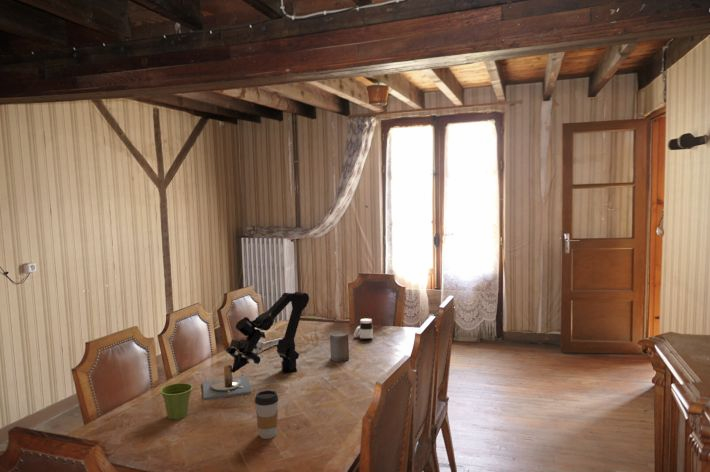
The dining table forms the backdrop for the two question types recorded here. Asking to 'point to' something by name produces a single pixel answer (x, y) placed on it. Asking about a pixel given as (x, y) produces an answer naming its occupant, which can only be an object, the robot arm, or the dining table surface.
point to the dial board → (213, 394)
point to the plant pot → (177, 399)
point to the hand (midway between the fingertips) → (232, 372)
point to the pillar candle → (339, 346)
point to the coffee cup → (267, 413)
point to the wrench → (265, 345)
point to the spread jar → (364, 330)
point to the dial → (226, 381)
